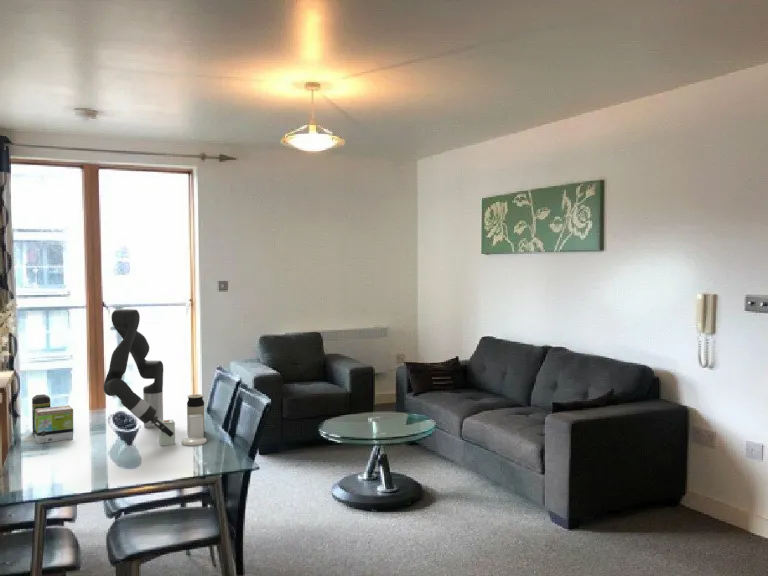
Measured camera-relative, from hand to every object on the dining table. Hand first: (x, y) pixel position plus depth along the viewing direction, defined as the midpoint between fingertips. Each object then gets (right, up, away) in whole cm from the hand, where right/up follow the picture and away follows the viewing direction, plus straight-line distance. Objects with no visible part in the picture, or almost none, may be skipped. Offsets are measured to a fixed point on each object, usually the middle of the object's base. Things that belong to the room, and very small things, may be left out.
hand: (170, 433), depth 298 cm
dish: (+11, -4, 0) cm, 11 cm away
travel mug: (+6, -4, +19) cm, 20 cm away
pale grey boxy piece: (-1, -4, -1) cm, 5 cm away
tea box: (-57, -5, +8) cm, 58 cm away
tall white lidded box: (+8, -4, +11) cm, 14 cm away
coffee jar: (-70, -5, +21) cm, 73 cm away
